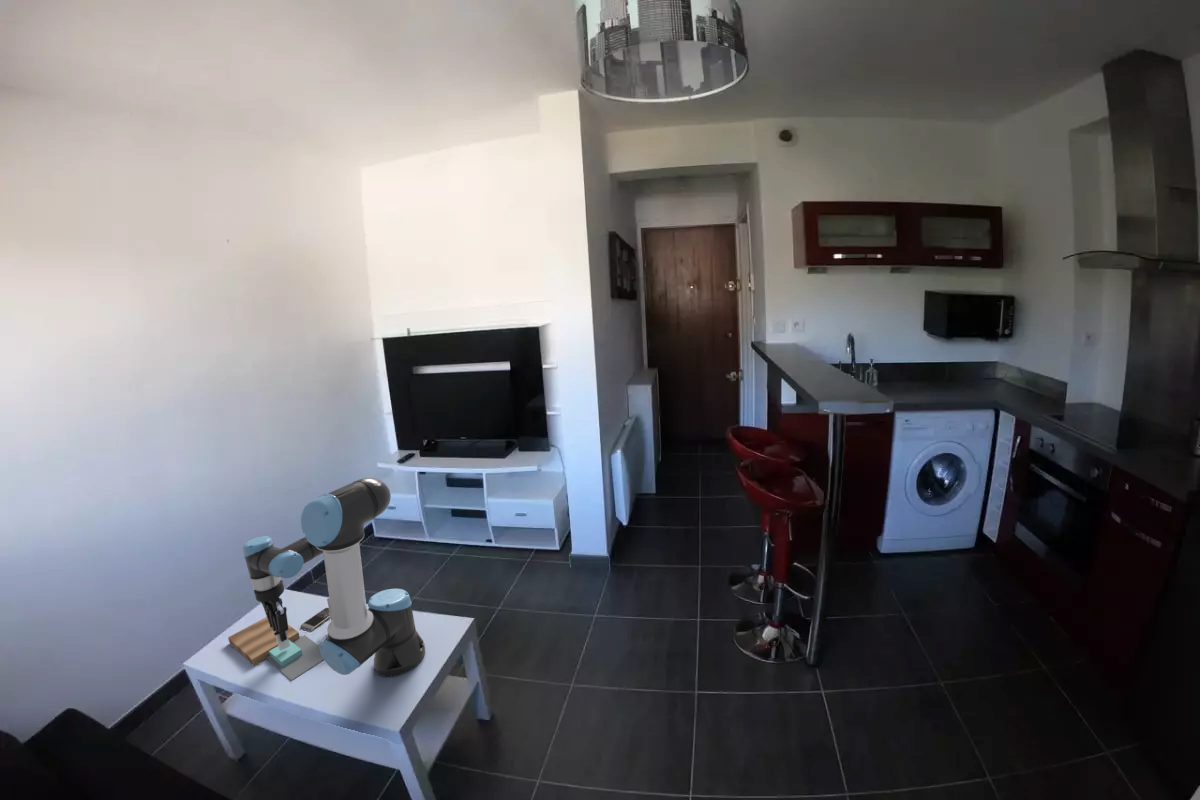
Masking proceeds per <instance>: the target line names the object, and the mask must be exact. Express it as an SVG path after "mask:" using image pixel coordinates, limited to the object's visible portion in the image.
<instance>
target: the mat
mask: <svg viewBox="0 0 1200 800" xmlns="http://www.w3.org/2000/svg"><path fill="white" fill-rule="evenodd" d="M292 643H294V644H295V645H296V646H298V647H299V648H300V649H301V650H302V654H303V655H301V656H300V657H298V658H296V659H295V660H293V661H292V662H290V663H288V664H287V665H285V666H284V667H282V666H281V665H280V664H279V663H277V662H276V661H275V660H274V659H273V658H272V657H271V656H268V657H267V658H266V659H265V660H267V661H268V662H269V663H271V665H272V666H273V667H275V668H276V669H277V670H278V671H280V673H282V675H284V676H285V677H286V678H288V679H289V680H290V682H292V681H294V680H295V679H297V678H298V677H300V676H301V675H303V674H304V673H306V672H307V671H309V670H310V669H312V668H314V667H315V666H317V665H318V664H319V663H322V662H323V661H324V659H323V657H322V655H321V653H320V645H319V644H318V643H316V642H315V641H313V640H312V639H311V638H309V637H308V636H307V635H305V634H304V635H302V636H301V637H300V638H299V639H297V640H295V641H294V642H292Z"/></svg>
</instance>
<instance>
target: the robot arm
mask: <svg viewBox="0 0 1200 800" xmlns="http://www.w3.org/2000/svg"><path fill="white" fill-rule="evenodd" d="M391 497H392V496H391V491H390V489H389V486H388V485H387V484H386V483H385V482H383V481H382V480H380V479H378V478H373V477H363V478H359V479H357V480H355V481H353V482H350V483H349V484H345V485H344V486H341V487H339V488H337V489H335V490H333V491H330V492H328V493H324V494H322V495H320V496H318V497H317V498H315V499H313V500H311V501H309V502H308V503H307V504H306V505H305V506H304V508H303V509H302V513H301V515H300V525H301V526H300V527H301V530H302V533H303V534H304V537H302V538H300V539H298V540H296V541H294V542H292V543H290V544H288V545H286V546H284V547H282V548H279V547H277V546H274V542H273V539H272V537H270V536H267V535H263V536H258V537H255V538H252V539H250V540H248V541H246V542H245V543H244V544H243V546H242V551H243V557H244V560H245V564H246V566H247V571H248V574H249V578H250V579H249V580H250V583H251V586H252V589H253V593H254V596H255V600H256V601H257V602H259V603H261V605H262V608H263V610H264V612H265V615H266V617H267V619H268V621H269V624H270V627H271V628H273V631H275V632H274V635H275V636H276V640H277V644H278V648H279V650H280V651H282V650H284V649H285V648H287V647H289V646H290V644H289V640H288V636H287V632H286V631H287V630H289V629H288V625H289V623H288V616H287V611H288V609H287V607H286V606H283V599H282V598H281V596H282V594H283V593H284V592H285V586H284V581H283V580H282V579H292V578H294V577H295V576H297V575H298V573H300V571H302V569H303V567H304V565H305V564H306V563H309V562H310V561H312V560H313V559H315V558H317V557H319V556H321V555H322V554H323V560H324V567H325V568H324V569H325V575H326V582H327V589H328V590H327V591H328V596H329V597H328V598H330V606H331V613H332V621H331V620H330V622H329V623H328V625H327V629H326V630H327V631H326V632H327V638H326V639H325V640H323V641H322V643H321V644H320V645H319V646H320V653H321V655H322V657H323V659H324V660H323V661H324V662H325V663H326V664H327V666H329V668H330V669H331V670H332V671H334V672H336V673H337V674H340V675H343V676H347V675H350V674H351V673H353V672H354V671H355V670H357V669H358V668H360V667H361V666H362V665H363V664H364V663H365V662H366V661H368V660H369V659H370V658H371V657H372V656H374V658H373V665H374V670H375V672H376V673H377V674H378V675H380V676H382V677H390V678H391V677H397V676H400V675H403V674H405V673H407V672H410V671H411V670H413V669H414V668H415V667H417V666H418V665H419V664H420V662H422V660H423V659H424V657H425V655H426V646H425V642H424V640H423V638H422V636H421V635H420V634H419V632H418V631H417V629H416V625H415V618H414V611H413V606H412V604H413V603H412V602H413V601H412V600H411V596H410V594H409V593H408V591H406V590H405V589H403V588H390V589H384V590H381V591H379V592H376V593H375V594H373V595H371V597H370V598H369V600H368V603H367V601H366V600H367V599H366V593H365V591H366V590H365V584H364V583H365V582H364V574H363V573H364V571H363V566H362V565H363V564H362V557H361V547H360V542H361V541H363V540H364V538H365V535H366V534H365V524H366V523H369V522H371V521H372V520H373V519H376V518H377V517H379V516H380V515H382V514H383V513H384V512H385V511H386V510H387V508H388V507H389V505H390V502H391V499H392V498H391ZM367 606H368V608H367Z"/></svg>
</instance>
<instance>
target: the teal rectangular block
mask: <svg viewBox="0 0 1200 800" xmlns="http://www.w3.org/2000/svg"><path fill="white" fill-rule="evenodd" d="M289 644H290V646H289V647H287V648H285V649H284V650H282V651H280V650H279V648H278V646H277V647H275V648H274V649H272V650H270V651H269V653H270V656H271V657H272V658H273V659H274V660H275V661H276V662H277V663H279V664H280V665H281V666H282V667H284V666H285V665H287V664H288V663H290V662H292V661H293V660H295V659H296V658H298V657H300V656H301V655H303V654H302V650H301V649H300V648H299V647H298V646H296V645H295V644H294V643H292V642H291V641H290V640H289Z"/></svg>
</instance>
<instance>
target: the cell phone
mask: <svg viewBox="0 0 1200 800" xmlns="http://www.w3.org/2000/svg"><path fill="white" fill-rule="evenodd" d="M328 620H331V618H330V613H329V607H325V608H324V609H321V610H320V611H318V613H316V614H315V615H313V616H312V617H310V618H309V619H307V620H306V621H304V622H303V623H301V624H300V629H301V630H303V631H307V632H312V631H314V630H316V629H317V628H318V627H320V626H321V625H323V624H324V623H325V622H327V621H328Z"/></svg>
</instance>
